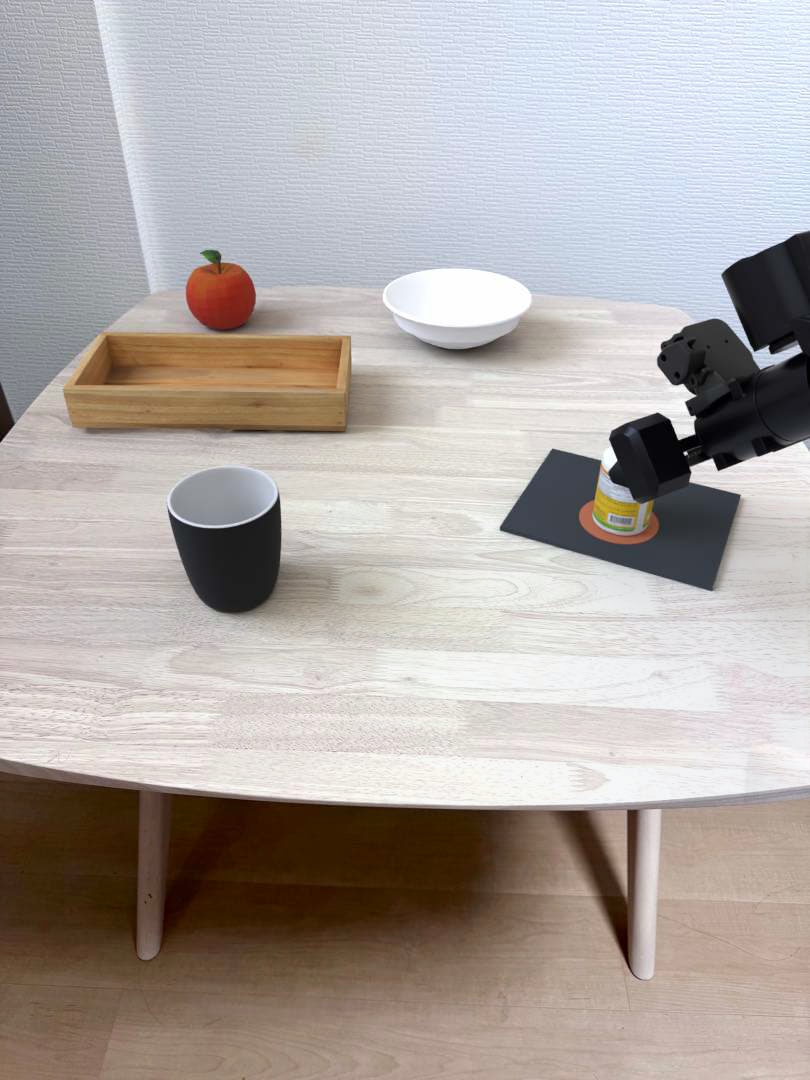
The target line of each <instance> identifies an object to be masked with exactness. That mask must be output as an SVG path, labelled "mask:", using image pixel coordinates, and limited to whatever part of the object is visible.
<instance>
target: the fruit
mask: <svg viewBox="0 0 810 1080" xmlns="http://www.w3.org/2000/svg"><path fill="white" fill-rule="evenodd" d="M199 254H200V255H202V256H203V257H204V258H205V259H206V260H207V261H208V262H210V263H209V264H206V265H201V266H198V267H196V268H194V269H193V271H192V272H191V274H190V275H189V276H188V278H187V280H186V281H187V282H186V286H185V301H186V303H187V307H188V309H189V310H188V311H190V313H191V315H192V316H193V318H195V319H196V320H197V321H198V322H199V323H200V324H201V325H203V326H205V327H207V328H210V329H212V330H217V331H218V330H219V331H226V330H232V329H236V328H237V327H240V326H242V325H243V324H244V323H246V322H247V321H248V320H249V318H250V317H251V316H252V314H253V312H254V309H255V306H256V303H257V293H256V288H255V286H254V285H255V284H254V282H253V280H252V278H251V276H250V274H249V273H248V272H247V270H245V268H243V267H242V266H240V265H239V264H236V263H233V262H222V257H223V256H222V254H221V252H220V251H219V250H217V249H216V250H215V249H205V250H203V251H200V252H199Z"/></svg>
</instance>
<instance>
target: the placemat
mask: <svg viewBox="0 0 810 1080" xmlns="http://www.w3.org/2000/svg"><path fill="white" fill-rule="evenodd" d="M601 461H602V459H598V458H594V457H589V456H586V455H581V454H577V453H573V452H569V451H565V450H561V449H557V448H551V450H550V451H549V453H548V454H547V456H546V457H545V458H544V460H543V461H542V463H541V465H540V466H539V468H538V469H537V470H536V472H535V474H533V477H531V479H530V480H529V482H528V484H527V485H526V487H525V488H524V490H523V491H522V493H521V494H520V496H518V497H519V498H518V499H517V501H516V502H515V504H514V505H513V506H512V508H511V509H510V511H508V512H509V513H508V514H507V515H506V516H505V518H504V520H503V522H502V523H501V524H500V526H499V531H502V532H504V533H508V534H512V535H515V536H519V537H521V538H526V539H529V540H533V541H536V542H540V543H543V544H547V545H550V546H553V547H556V548H557V547H558V548H560V549H564V550H568V551H571V552H574V553H578V554H581V555H584V556H585V555H586V556H588V557H592V558H596V559H598V560H603V561H606V562H610V563H612V564H616V565H620V566H623V567H626V568H631V569H634V570H637V571H641V572H644V573H648V574H651V575H655V576H659V577H662V578H665V579H668V580H672V581H675V582H679V583H682V584H685V585H689V586H693V587H696V588H700V589H704V590H707V591H710V592H712V591H713V588H714V585H715V582H716V579H717V576H718V572H719V569H720V566H721V562H722V560H723V556H724V553H725V550H726V546H727V542H728V539H729V535H730V533H731V530H732V526H733V523H734V520H735V516H736V513H737V510H738V506H739V504H740V501H741V500H740V499H741V497H742V495H741V494H740V493H736V492H732V491H728V490H724V489H720V488H715V487H713V486H712V487H711V486H707V485H703V484H700V483H695V482H692V481H689V485H688V487H685V488H682V489H680V490H677V491H675V492H672V493H670V494H667V495H665V496H662V497H660V498H657V499H654V503H653V507H652V511H651V516H650V520H649V524H648V526H647V528H646V529H645V530H644V531H642V532H641V533H638V534H635V535H631V536H621V535H615V534H612V533H609V532H607V531H604V530H603V529H601V528H600V527H599V526H598V525H597V524H596V523H595V522H594V519H593V507H594V502H595V496H596V490H597V484H598V479H599V473H600V467H601Z"/></svg>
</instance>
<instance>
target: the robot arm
mask: <svg viewBox="0 0 810 1080" xmlns="http://www.w3.org/2000/svg"><path fill="white" fill-rule="evenodd" d="M720 276H721V279H722V281H723V284H724V286H725V288H726V290H727V293H728V296H729V298H730V300H731V302H732V305H733V307H734V310H735V312H736V314H737V317H738V320H739V321H740V324H741V326H742V329H743V331H744V333H745V337H746V338H747V340H748V343H749V345H750V348H752V351H753V352H754V353H756V352H758V351H761V350H764V349H765V348H767V347H768V348H767V349H768V351H769V354H770V355H776V354H780V353H782V352H785V351H788V350H790V349H792V348H795V347H798V346H799V349H800V350H801V352H798V353H797V354H795V355H792V356H791V357H788V358H787V359H785V360H783V361H781V362H779V363H777V364H775V363H774V364H771V365H768V366H766V367H763V368H760V366H759V365H758V363H756V361H755V359H754V355H753V353H752V352H751V350H750V349H749V348H748V347H747V346H746V344H745V343H744V342H743V340H741V339H740V337H739V336H738V335H737V334H736V332H735V331H734V330H733V329H732V328H731V326H730V325H729V324H728V323H727V322H726V321H724V320H722V319H720V318H715V317H714V318H710V319H707V320H702V321H700V322H696V323H693V324H689V325H686V326H684V327H682V329H681V330H680V332H677V333H674V334H672V336H671V338H669V339H667V340H663V341H662V342H661V344H660V350H661V351H660V352H659V354H658V356H657V358H656V365H657V368H658V369H659V370H660V371H661V373H662V374H663V375H664V376H665V378H666V379H667V380H668V381H669V383H670V384H671V385H672V386H677V387H678V386H681V385H684V387H685V388H686V390H687V391H688V392H689V393H690V394H692V395H693V397H691V398H690V399H688V400H686V401H684V405H685V406H686V409H687V412H688V414H689V416H690V417H695V419H694V421H693V428H694V429H693V430H694V434H691V435H688V436H686V437H683V438H680V439H679V438H678V435H677V433H676V431H675V427H674V425H673V423H672V420H671V419H670V418H669V417H667V416H666V415H663V414H662V413H660V412H658V411H657V412H654V413H652V414H649V415H645V416H642V417H640V418H636V419H634V420H631V421H628V422H625V423H623V424H621V425H619V426H618V427H616V428H614V429H612V430H611V431H610V434H609V438H608V441H609V443H610V446H612V448H613V451H614V453H615V456H616V458H617V461H616V463H615V464H614V465H613V466H612V468H611V469H610V470H609V471H608V474H609V477H610V479H611V482H612V483H614V484H617V485H620V486H623V487H626V488H629V490H630V493H631V495H632V498H633V500H635V501H636V502H638V503H640V504H644V503H646V502H649V501H652V500H654V499H657V498H660V497H662V496H665V495H667V494H670V493H672V492H675V491H677V490H680V489H682V488H685V487H688V485H689V482H691V481H690V480H691V477H692V469H691V467H694V466H698V465H700V464H702V463H705V462H707V461H710V460H713V464H714V466H715V468H716V470H717V472H721V471H723V470H725V469H728V468H731V467H733V466H736V465H738V464H741V463H743V462H746V461H748V460H751V459H754V458H757V457H758V458H760V457H763V456H766V455H769V454H771V453H776V452H779V451H782V450H784V449H786V448H790V447H793V446H794V445H797V444H799V443H802V442H804V441H807V440H809V439H810V230H805V231H802V232H798V233H794V234H793V235H792V236H790V237H788V238H787V239H785V240H784V241H782V242H779V243H777V244H774V245H772V246H769V247H768V248H765V249H763V250H761V251H759V252H757V253H754V254H753V255H751V256H747V257H746V256H745V257H743V258H740V259H739V260H737V261H735V262H734V263H732V264H731V265H730V266H729V267H727V268H725V270H723V271H722V272H721V274H720ZM685 453H686V454H685Z"/></svg>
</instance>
